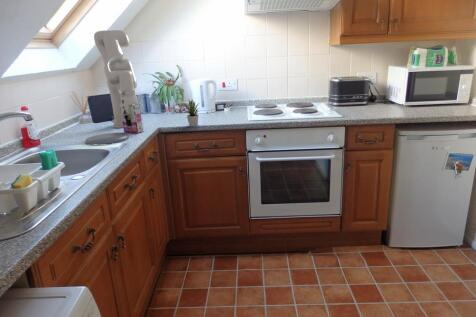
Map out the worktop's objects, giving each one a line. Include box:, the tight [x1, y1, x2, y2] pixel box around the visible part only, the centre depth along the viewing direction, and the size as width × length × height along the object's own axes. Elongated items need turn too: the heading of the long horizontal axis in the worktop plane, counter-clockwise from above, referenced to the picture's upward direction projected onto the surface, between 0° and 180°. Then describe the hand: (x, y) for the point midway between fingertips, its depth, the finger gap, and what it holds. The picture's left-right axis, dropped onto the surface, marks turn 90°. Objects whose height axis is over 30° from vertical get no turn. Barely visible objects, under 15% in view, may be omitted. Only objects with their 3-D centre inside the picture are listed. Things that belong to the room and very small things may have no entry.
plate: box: [85, 132, 130, 145], centre depth 192 cm, size 22×22×2 cm
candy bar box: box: [120, 103, 144, 134], centre depth 206 cm, size 11×5×16 cm, turn 62°
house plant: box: [182, 99, 200, 127], centre depth 216 cm, size 14×14×16 cm
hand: (132, 124), depth 207 cm, fingers closed on candy bar box, 5 cm apart
